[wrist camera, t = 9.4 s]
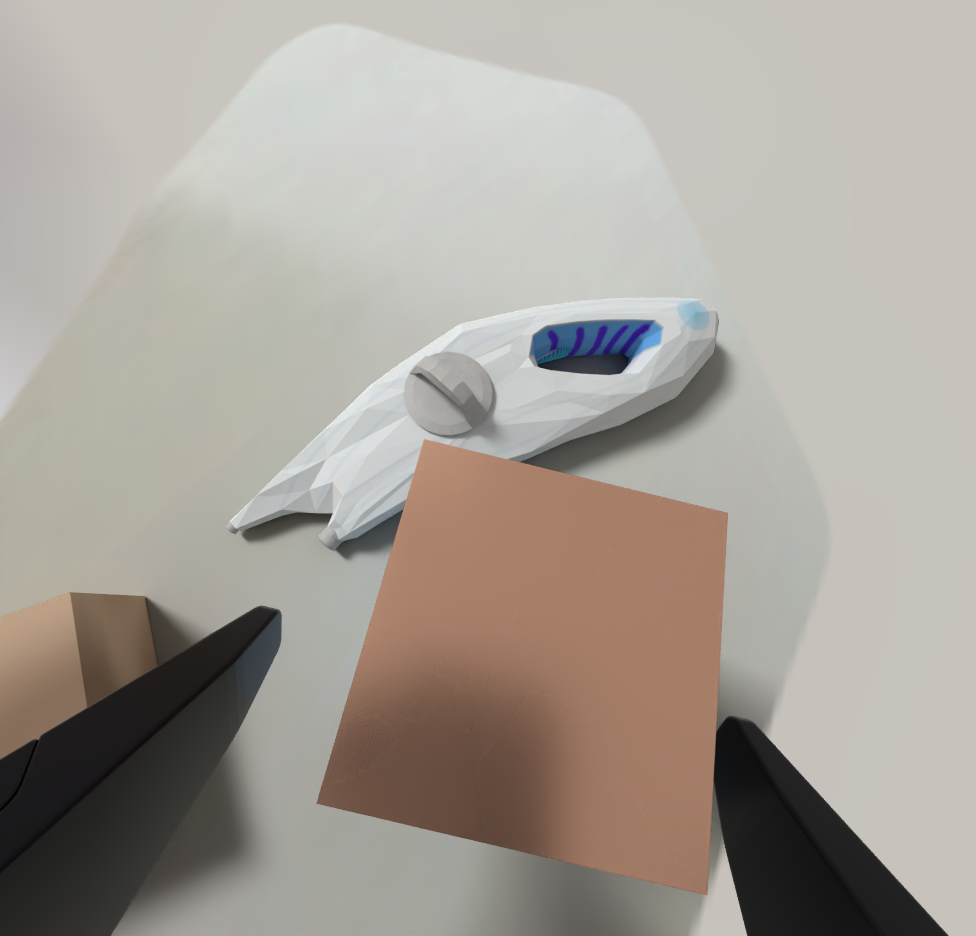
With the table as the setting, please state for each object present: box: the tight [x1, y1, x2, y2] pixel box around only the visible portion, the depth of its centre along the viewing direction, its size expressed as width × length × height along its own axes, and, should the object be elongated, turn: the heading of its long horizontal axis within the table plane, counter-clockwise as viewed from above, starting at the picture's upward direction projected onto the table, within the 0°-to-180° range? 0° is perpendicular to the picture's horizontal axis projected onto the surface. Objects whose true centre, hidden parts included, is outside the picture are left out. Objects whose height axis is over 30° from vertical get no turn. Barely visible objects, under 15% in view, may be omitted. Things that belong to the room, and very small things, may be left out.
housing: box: [317, 439, 728, 895], centre depth 10 cm, size 4×4×9 cm
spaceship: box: [226, 298, 719, 551], centre depth 19 cm, size 23×7×4 cm, turn 115°
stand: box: [0, 592, 158, 759], centre depth 14 cm, size 7×7×4 cm
